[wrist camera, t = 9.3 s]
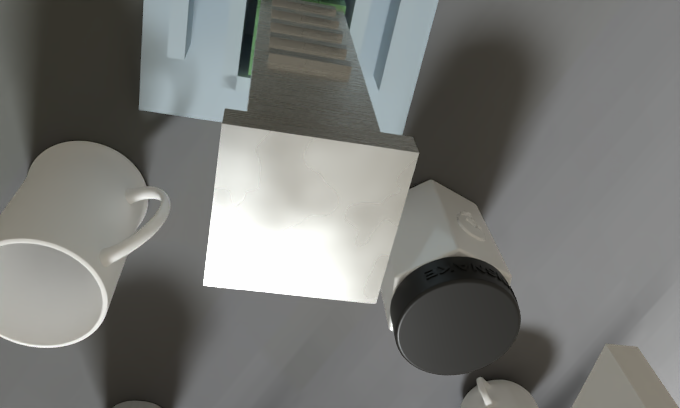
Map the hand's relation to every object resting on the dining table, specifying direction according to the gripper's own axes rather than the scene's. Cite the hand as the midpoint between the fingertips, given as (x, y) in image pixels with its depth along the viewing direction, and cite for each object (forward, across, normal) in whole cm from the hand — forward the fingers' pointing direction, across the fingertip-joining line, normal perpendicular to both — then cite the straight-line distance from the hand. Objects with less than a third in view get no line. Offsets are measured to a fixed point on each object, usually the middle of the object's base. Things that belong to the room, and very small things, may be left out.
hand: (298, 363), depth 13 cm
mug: (+33, -10, -16) cm, 38 cm away
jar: (+32, +14, -16) cm, 39 cm away
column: (+25, 0, 0) cm, 25 cm away
